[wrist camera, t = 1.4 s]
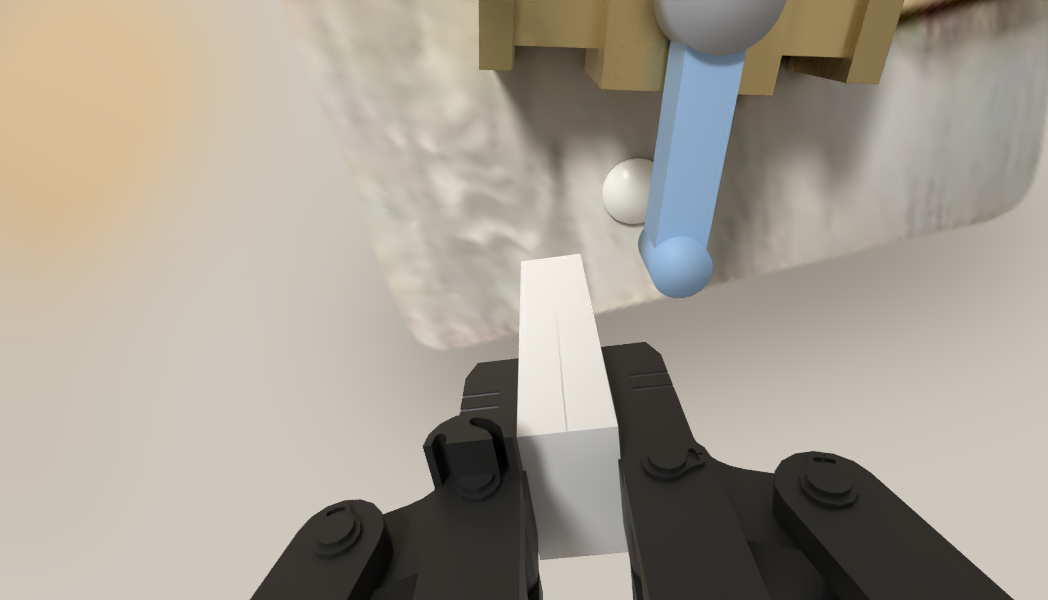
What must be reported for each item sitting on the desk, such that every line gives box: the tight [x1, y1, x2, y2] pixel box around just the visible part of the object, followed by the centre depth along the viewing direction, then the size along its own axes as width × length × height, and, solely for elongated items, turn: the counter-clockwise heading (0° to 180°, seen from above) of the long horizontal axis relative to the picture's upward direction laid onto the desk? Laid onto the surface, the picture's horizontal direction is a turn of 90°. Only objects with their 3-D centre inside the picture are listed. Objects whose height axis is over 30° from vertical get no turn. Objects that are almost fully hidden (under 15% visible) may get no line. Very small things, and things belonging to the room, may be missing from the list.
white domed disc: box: [602, 158, 653, 224], centre depth 37 cm, size 4×4×1 cm
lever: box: [638, 0, 787, 298], centre depth 24 cm, size 15×4×4 cm, turn 178°
